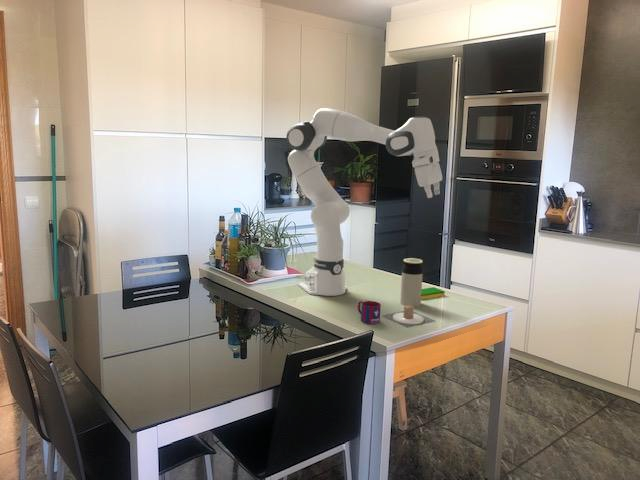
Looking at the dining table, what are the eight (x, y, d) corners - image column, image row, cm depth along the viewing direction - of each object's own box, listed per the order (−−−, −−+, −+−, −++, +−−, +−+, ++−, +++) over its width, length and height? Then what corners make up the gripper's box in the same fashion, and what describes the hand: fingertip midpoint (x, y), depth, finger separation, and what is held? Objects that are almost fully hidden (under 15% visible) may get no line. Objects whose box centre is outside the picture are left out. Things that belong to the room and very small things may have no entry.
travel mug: (423, 306, 204) (427, 262, 200) (405, 308, 201) (408, 262, 198) (414, 300, 211) (417, 257, 208) (396, 302, 209) (399, 258, 206)
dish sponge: (408, 296, 219) (408, 290, 219) (433, 292, 226) (433, 286, 225) (419, 300, 213) (420, 295, 213) (444, 296, 220) (445, 291, 219)
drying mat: (380, 316, 191) (381, 315, 190) (409, 310, 198) (409, 309, 198) (406, 328, 179) (407, 327, 179) (436, 321, 187) (436, 320, 187)
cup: (368, 326, 180) (368, 307, 179) (352, 317, 189) (352, 299, 187) (383, 323, 183) (384, 305, 182) (367, 315, 192) (368, 297, 191)
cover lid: (386, 317, 189) (387, 304, 188) (409, 312, 195) (409, 300, 194) (407, 326, 180) (407, 313, 179) (430, 321, 186) (431, 308, 185)
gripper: (426, 159, 203) (433, 194, 205) (410, 163, 186) (417, 200, 187) (442, 156, 200) (449, 191, 202) (427, 159, 183) (434, 197, 184)
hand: (433, 195), depth 194 cm, fingers open, 8 cm apart
